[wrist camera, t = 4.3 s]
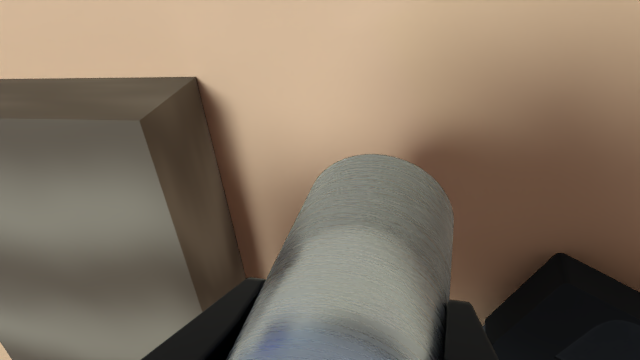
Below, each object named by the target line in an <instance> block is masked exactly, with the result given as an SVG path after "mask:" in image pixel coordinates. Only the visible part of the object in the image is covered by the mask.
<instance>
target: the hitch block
mask: <svg viewBox="0 0 640 360" xmlns="http://www.w3.org/2000/svg"><path fill="white" fill-rule="evenodd" d="M245 279H246V277H245V273H244V269H243V265H242V261H241V257H240V253H239V249H238V245H237V241H236V237H235V233H234V229H233V225H232V221H231V217H230V213H229V209H228V205H227V201H226V197H225V193H224V189H223V185H222V181H221V177H220V173H219V169H218V165H217V161H216V157H215V153H214V149H213V145H212V141H211V137H210V133H209V130H208V126H207V122H206V118H205V114H204V110H203V106H202V102H201V98H200V94H199V90H198V86H197V82H196V78H195V77H165V78H75V79H0V342H1V344H2V345H3V347H4V348H5V350H6V351H7V353H8V354H9V356H10V357H11V359H12V360H141V359H142V358H143V357H145V356H146V355H147V354H149V353H150V352H151V351H152V350H154V349H155V348H156V347H158V346H159V345H160V344H162V343H163V342H164V341H165V340H167V339H168V338H169V337H171V336H172V335H173V334H175V333H176V332H177V331H178V330H180V329H181V328H182V327H184V326H185V325H186V324H188V323H189V322H190V321H191V320H193V319H194V318H195V317H197V316H198V315H199V314H201V313H202V312H203V311H204V310H206V309H207V308H208V307H210V306H211V305H212V304H214V303H215V302H216V301H217V300H219V299H220V298H221V297H223V296H224V295H225V294H227V293H228V292H229V291H230V290H232V289H233V288H234V287H236V286H237V285H238V284H240V283H241V282H242V281H243V280H245Z"/></svg>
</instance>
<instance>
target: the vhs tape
mask: <svg viewBox="0 0 640 360" xmlns="http://www.w3.org/2000/svg"><path fill="white" fill-rule="evenodd" d="M483 329H484V331H485V333H486V335H487V337H488V339H489V341H490V343H491V345H492V347H493V349H494V351H495V353H496V355H497V357H498V359H499V360H640V292H638V291H636V290H634V289H632V288H630V287H628V286H626V285H624V284H622V283H620V282H618V281H617V280H615V279H613V278H611V277H609V276H607V275H605V274H603V273H601V272H599V271H597V270H595V269H593V268H591V267H589V266H587V265H585V264H584V263H582V262H580V261H578V260H576V259H574V258H572V257H570V256H568V255H566V254H563V253H557V254H556V255H554V256H553V257H552V258H551V259H550V260H549V261H548V262H547V263H545V264H544V265H543V266H542V267H541V268H540V269H539V270H538V271H537V272H536V273H535V274H534V275H533V276H532V277H530V278H529V279H528V280H527V281H526V282H525V283H524V284H523V285H522V286H521V287H520V288H519V289H518V290H516V291H515V292H514V293H513V294H512V295H511V296H510V297H509V298H508V299H507V300H506V301H505V302H504V303H502V304H501V305H500V306H499V307H498V308H497V309H496V310H495V311H494V312H493V313H492V314H491V315H490V316H488V317H487V318H486V319H485V325H484V326H483Z"/></svg>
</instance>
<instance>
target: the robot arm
mask: <svg viewBox="0 0 640 360" xmlns="http://www.w3.org/2000/svg"><path fill="white" fill-rule="evenodd" d="M265 281H266V280H265V279H260V278H251V277H250V278H247V279H245V280H243V281H242V282H241V283H240V284H238V285H237V286H236V287H234V288H233V289H232V290H230V291H229V292H228V293H227V294H225V295H224V296H223V297H221V298H220V299H219V300H217V301H216V302H215V303H214V304H212V305H211V306H210V307H208V308H207V309H206V310H204V311H203V312H202V313H201V314H199V315H198V316H197V317H195V318H194V319H193V320H191V321H190V322H189V323H188V324H186V325H185V326H184V327H182V328H181V329H180V330H178V331H177V332H176V333H175V334H173V335H172V336H171V337H169V338H168V339H167V340H165V341H164V342H163V343H162V344H160V345H159V346H158V347H156V348H155V349H154V350H152V351H151V352H150V353H149V354H147V355H146V356H145V357H143V358H142V359H141V360H226V359H227V357H228V355H229V353H230V351H231V349H232V347H233V345H234V343H235V341H236V339H237V337H238V335H239V333H240V331H241V329H242V327H243V325H244V323H245V321H246V319H247V317H248V315H249V313H250V311H251V309H252V307H253V305H254V303H255V301H256V299H257V297H258V295H259V293H260V291H261V289H262V287H263V285H264V283H265ZM444 360H499V359H498V357H497V355H496V353H495V351H494V349H493V347H492V345H491V343H490V341H489V339H488V337H487V335H486V333H485V331H484V329H483V327H482V325H481V323H480V321H479V319H478V317H477V315H476V312H475V310H474V308H473V306H472V305H471V304H470V303H469V302H465V301H457V300H449V301H448V303H447V315H446V331H445V347H444Z"/></svg>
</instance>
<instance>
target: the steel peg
mask: <svg viewBox="0 0 640 360" xmlns="http://www.w3.org/2000/svg"><path fill="white" fill-rule="evenodd" d="M453 227H454V217H453V211H452V206H451V204H450V201H449V198H448V197H447V195H446V193H445V191H444V190H443V189H442V187H441V186H440V185H439V183H438V182H437V181H436V180H435V179H434V178H433V177H432V176H431V175H429V174H428V173H427V172H425V171H424V170H423V169H421V168H419V167H418V166H416V165H414V164H412V163H410V162H408V161H405V160H402V159H399V158H396V157H392V156H387V155H379V154H364V155H357V156H352V157H348V158H345V159H343V160H340V161H338V162H336V163H334V164H333V165H331V166H329V167H328V168H327V169H326V170H324V171H323V172H322V173H321V175H320V176H319V177H318V178H317V180H316V181H315V183H314V184H313V186H312V188H311V190H310V192H309V194H308V196H307V198H306V200H305V202H304V204H303V206H302V208H301V210H300V212H299V214H298V216H297V218H296V220H295V222H294V224H293V226H292V228H291V230H290V232H289V234H288V236H287V238H286V240H285V242H284V245H283V247H282V249H281V251H280V253H279V255H278V257H277V259H276V261H275V263H274V265H273V267H272V269H271V271H270V273H269V275H268V277H267V279H266V281H265V283H264V285H263V287H262V289H261V291H260V293H259V295H258V297H257V299H256V301H255V303H254V305H253V307H252V309H251V311H250V313H249V315H248V317H247V319H246V321H245V323H244V325H243V327H242V329H241V331H240V333H239V335H238V337H237V339H236V341H235V343H234V345H233V347H232V349H231V351H230V353H229V355H228V357H227V359H226V360H444V347H445V331H446V315H447V303H448V301H449V297H450V280H451V262H452V245H453Z"/></svg>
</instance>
